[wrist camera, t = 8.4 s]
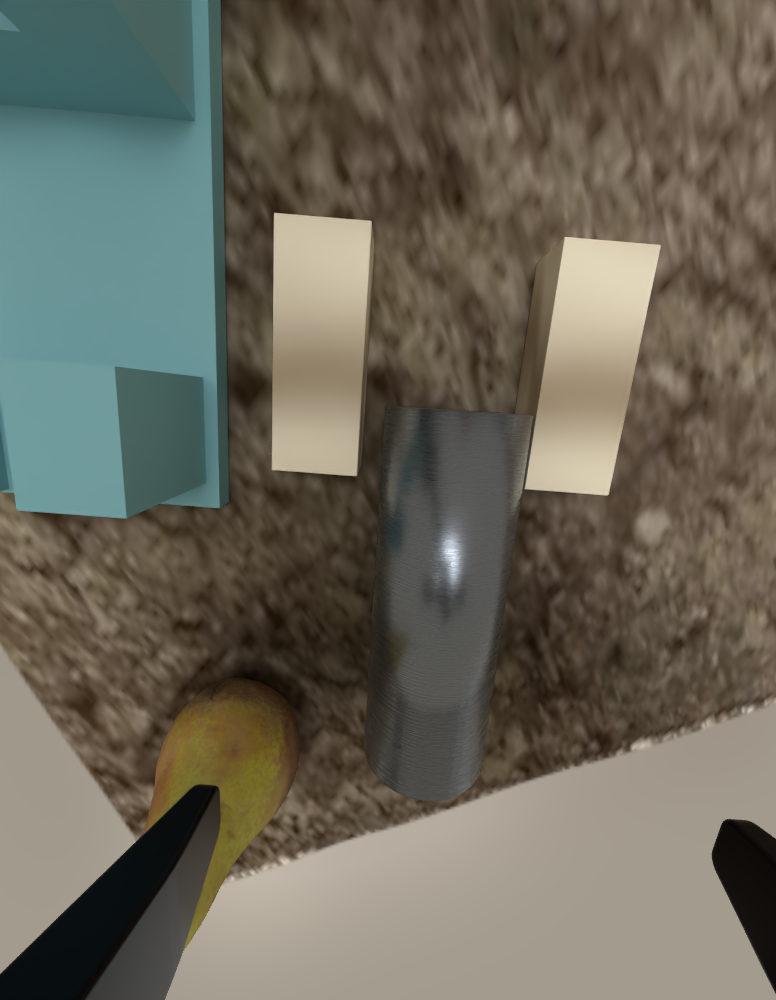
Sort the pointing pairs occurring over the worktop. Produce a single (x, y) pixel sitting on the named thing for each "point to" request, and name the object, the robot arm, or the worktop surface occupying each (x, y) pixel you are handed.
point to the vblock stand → (112, 256)
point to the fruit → (229, 767)
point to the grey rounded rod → (440, 592)
